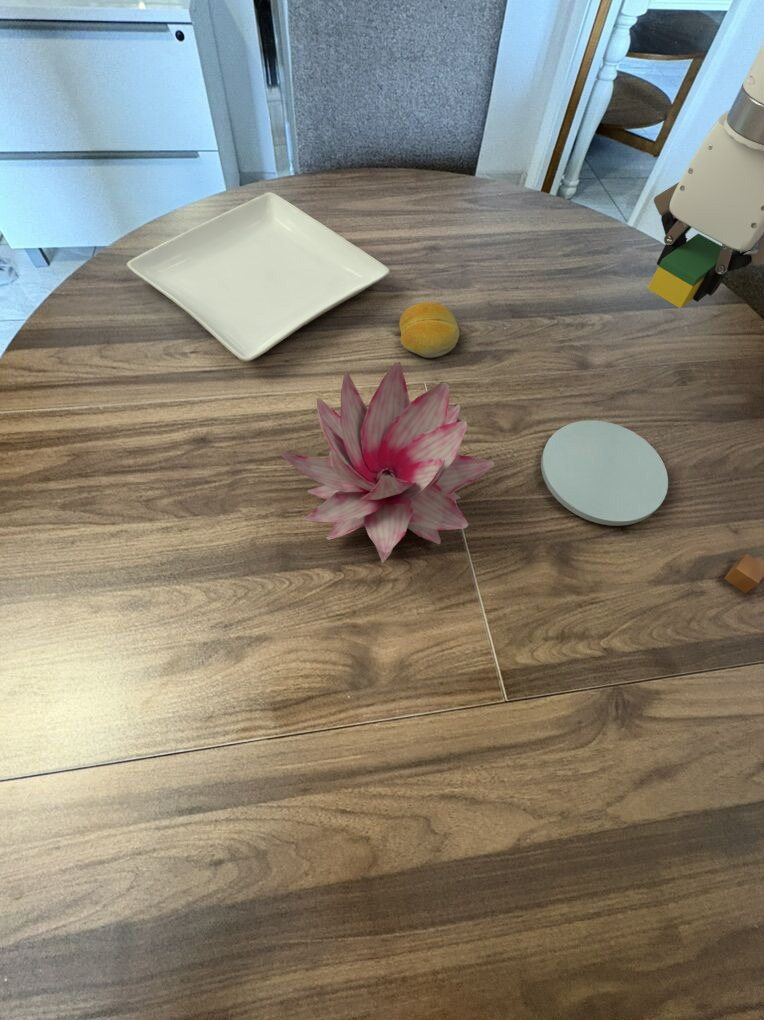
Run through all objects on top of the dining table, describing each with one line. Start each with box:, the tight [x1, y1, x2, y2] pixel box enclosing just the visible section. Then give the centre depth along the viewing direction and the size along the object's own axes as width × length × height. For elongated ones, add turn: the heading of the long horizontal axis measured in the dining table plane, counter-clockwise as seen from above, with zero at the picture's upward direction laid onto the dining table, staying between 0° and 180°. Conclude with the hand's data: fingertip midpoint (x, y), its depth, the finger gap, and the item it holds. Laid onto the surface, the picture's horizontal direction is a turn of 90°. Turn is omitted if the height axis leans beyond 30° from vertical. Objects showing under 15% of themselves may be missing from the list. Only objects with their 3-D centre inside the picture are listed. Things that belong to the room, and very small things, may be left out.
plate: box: [540, 419, 669, 527], centre depth 74 cm, size 15×15×2 cm
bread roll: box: [398, 301, 460, 359], centre depth 85 cm, size 8×9×4 cm
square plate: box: [125, 191, 391, 362], centre depth 89 cm, size 27×27×4 cm
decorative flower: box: [279, 361, 495, 564], centre depth 65 cm, size 21×21×15 cm
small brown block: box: [723, 553, 764, 594], centre depth 67 cm, size 3×3×3 cm
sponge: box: [647, 232, 722, 309], centre depth 70 cm, size 8×4×4 cm, turn 133°
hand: (682, 283), depth 72 cm, fingers closed on sponge, 4 cm apart
